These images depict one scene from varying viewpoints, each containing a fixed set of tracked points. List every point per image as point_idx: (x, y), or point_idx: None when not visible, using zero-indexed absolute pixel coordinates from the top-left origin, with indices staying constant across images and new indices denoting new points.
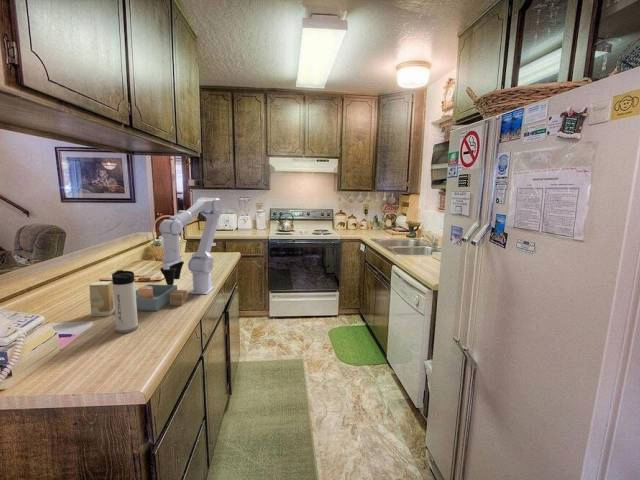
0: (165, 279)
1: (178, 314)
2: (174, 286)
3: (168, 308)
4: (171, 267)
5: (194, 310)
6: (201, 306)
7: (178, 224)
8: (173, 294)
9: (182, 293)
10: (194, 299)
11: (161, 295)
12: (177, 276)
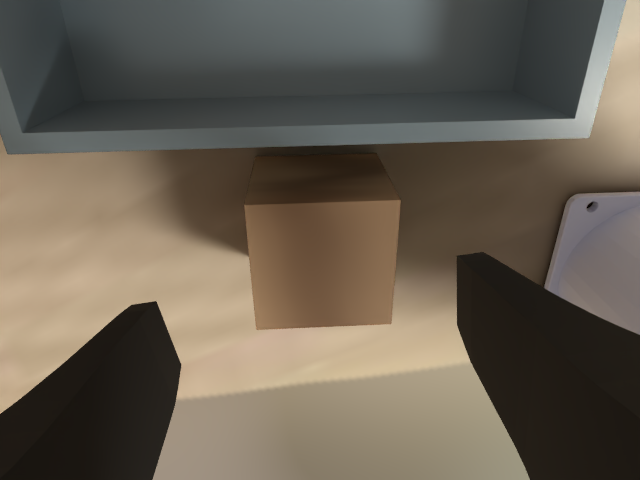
0: (56, 371)
1: (90, 310)
2: (531, 130)
3: (179, 180)
4: (596, 410)
5: (192, 374)
6: (274, 385)
7: None
8: (248, 247)
9: (284, 324)
10: (416, 290)
11: (153, 146)
12: (472, 342)
